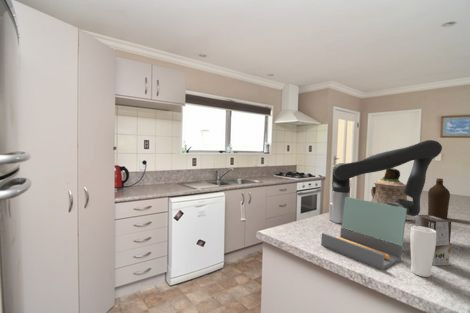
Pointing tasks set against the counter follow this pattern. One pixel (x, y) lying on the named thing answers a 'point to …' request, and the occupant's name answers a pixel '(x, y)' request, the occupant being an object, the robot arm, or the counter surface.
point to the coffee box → (438, 236)
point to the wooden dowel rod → (367, 248)
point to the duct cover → (375, 219)
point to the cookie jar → (389, 189)
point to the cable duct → (361, 252)
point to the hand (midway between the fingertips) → (373, 216)
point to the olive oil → (438, 200)
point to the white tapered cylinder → (422, 250)
